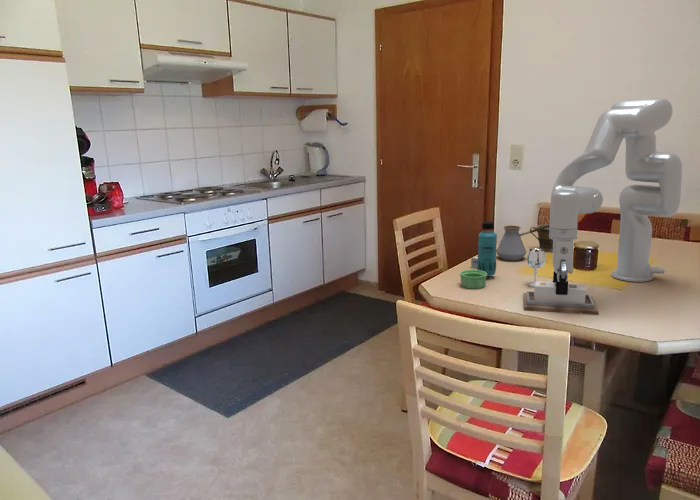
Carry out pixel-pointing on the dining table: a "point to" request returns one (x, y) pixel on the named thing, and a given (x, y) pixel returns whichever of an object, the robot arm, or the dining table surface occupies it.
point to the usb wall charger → (474, 262)
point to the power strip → (548, 293)
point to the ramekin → (473, 279)
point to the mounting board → (560, 305)
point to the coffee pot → (513, 243)
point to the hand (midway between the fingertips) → (560, 289)
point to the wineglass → (535, 261)
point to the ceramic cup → (544, 238)
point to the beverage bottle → (487, 249)
